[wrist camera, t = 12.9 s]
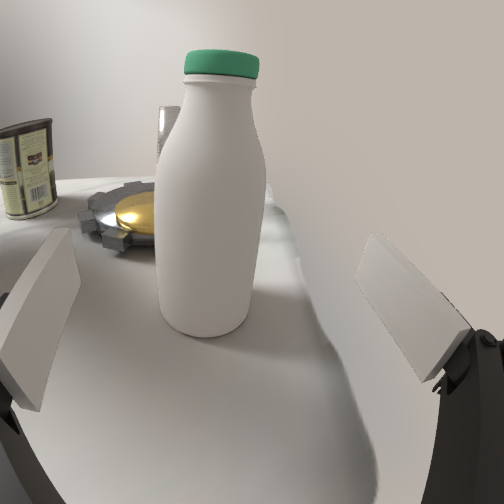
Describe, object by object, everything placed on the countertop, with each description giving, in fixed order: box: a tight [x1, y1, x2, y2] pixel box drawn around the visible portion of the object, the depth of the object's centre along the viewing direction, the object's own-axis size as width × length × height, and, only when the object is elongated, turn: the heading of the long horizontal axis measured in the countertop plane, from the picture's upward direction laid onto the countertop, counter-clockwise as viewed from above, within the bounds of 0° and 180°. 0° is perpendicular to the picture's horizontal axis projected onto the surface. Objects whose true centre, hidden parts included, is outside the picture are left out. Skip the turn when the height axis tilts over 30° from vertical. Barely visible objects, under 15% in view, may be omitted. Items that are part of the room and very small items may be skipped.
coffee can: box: [0, 118, 58, 220], centre depth 35 cm, size 10×10×14 cm
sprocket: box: [78, 106, 181, 252], centre depth 34 cm, size 20×20×14 cm
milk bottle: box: [154, 50, 266, 338], centre depth 20 cm, size 8×8×20 cm
